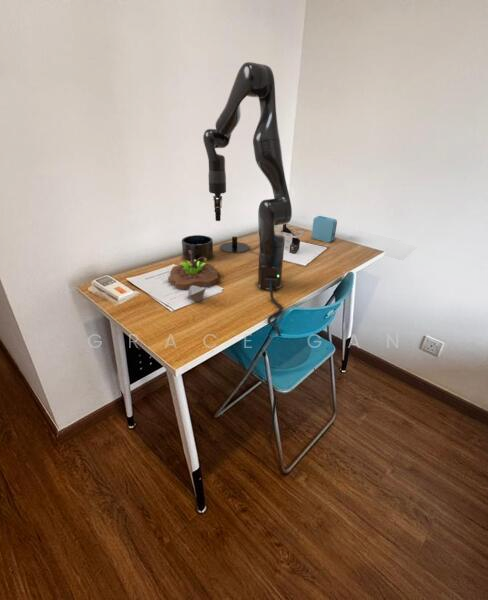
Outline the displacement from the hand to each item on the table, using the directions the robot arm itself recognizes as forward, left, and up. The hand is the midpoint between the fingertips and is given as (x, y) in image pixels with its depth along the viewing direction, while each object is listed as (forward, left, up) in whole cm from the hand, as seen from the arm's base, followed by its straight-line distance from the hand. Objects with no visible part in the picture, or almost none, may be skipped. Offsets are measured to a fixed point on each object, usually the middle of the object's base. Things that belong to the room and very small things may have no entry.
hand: (218, 218), depth 147 cm
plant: (-29, +3, -17) cm, 34 cm away
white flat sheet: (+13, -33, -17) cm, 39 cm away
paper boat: (-46, -5, -17) cm, 50 cm away
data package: (+33, -50, -17) cm, 62 cm away
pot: (-8, +8, -17) cm, 20 cm away
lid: (+7, -6, -16) cm, 19 cm away
